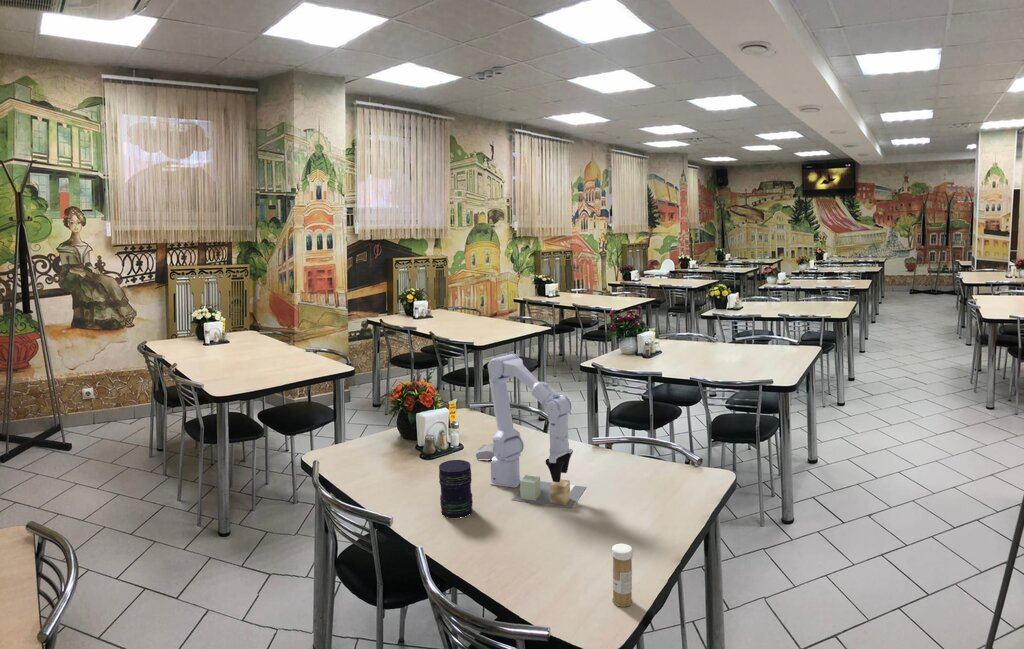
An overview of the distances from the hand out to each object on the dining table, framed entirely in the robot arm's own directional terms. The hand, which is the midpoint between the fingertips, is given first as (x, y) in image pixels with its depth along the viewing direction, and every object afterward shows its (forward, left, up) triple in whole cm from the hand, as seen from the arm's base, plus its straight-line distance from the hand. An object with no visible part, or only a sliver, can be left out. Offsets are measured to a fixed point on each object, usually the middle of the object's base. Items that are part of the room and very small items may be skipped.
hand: (559, 477), depth 201 cm
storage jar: (-28, -17, -8) cm, 34 cm away
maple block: (0, 0, -8) cm, 8 cm away
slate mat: (-5, +5, -8) cm, 11 cm away
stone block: (-38, +31, -9) cm, 50 cm away
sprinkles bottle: (+30, -48, -8) cm, 57 cm away
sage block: (-10, 0, -8) cm, 13 cm away
